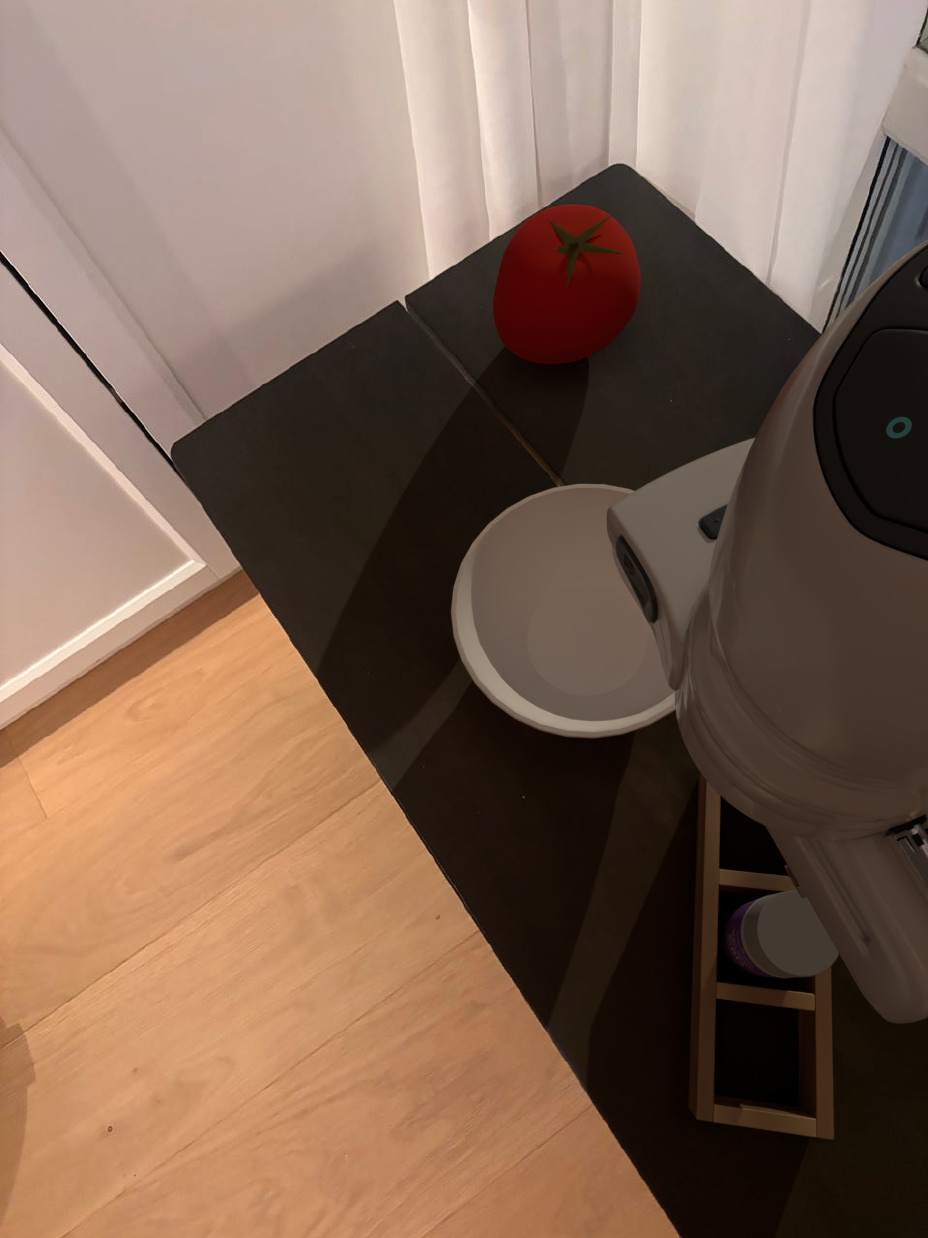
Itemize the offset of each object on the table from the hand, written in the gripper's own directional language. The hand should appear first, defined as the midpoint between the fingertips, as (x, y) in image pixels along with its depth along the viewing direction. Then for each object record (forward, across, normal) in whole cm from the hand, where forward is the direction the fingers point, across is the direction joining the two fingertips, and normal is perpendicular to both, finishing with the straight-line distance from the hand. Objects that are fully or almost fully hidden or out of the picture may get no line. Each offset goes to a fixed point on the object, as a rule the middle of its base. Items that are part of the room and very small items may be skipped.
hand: (750, 774), depth 40 cm
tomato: (+28, +45, -13) cm, 55 cm away
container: (+28, -7, -1) cm, 29 cm away
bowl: (+28, +17, -1) cm, 33 cm away
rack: (+28, -7, -1) cm, 28 cm away
